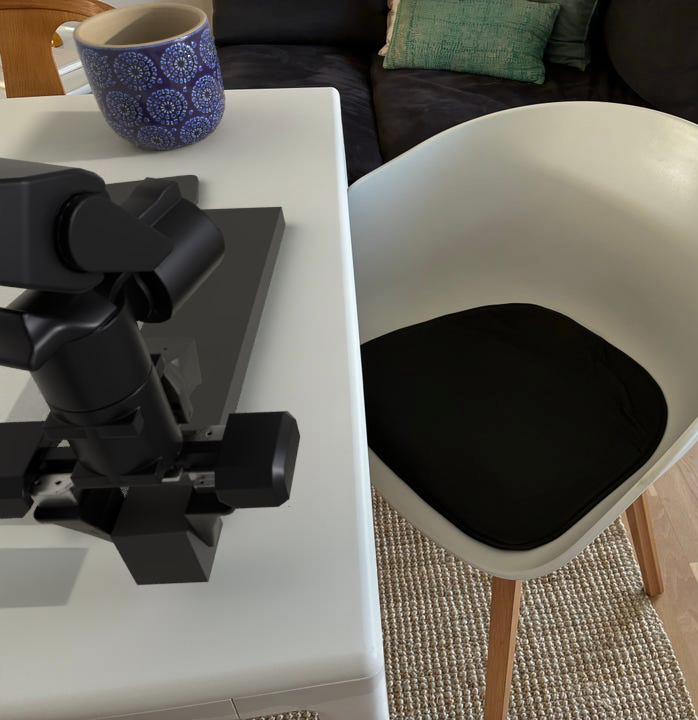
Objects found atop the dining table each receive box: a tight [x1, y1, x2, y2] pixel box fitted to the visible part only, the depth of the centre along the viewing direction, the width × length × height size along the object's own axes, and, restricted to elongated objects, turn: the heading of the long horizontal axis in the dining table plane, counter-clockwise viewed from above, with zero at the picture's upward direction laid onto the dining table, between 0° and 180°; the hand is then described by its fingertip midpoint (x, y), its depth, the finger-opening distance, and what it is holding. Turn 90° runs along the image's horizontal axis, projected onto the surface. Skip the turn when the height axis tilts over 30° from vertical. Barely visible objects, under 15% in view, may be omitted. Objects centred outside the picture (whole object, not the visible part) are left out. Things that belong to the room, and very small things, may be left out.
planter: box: [72, 2, 226, 151], centre depth 103 cm, size 17×17×15 cm
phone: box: [105, 174, 200, 206], centre depth 94 cm, size 7×1×15 cm
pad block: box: [110, 475, 224, 586], centre depth 52 cm, size 5×5×6 cm
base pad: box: [139, 206, 287, 476], centre depth 74 cm, size 42×10×2 cm, turn 2°
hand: (176, 542), depth 53 cm, fingers closed on pad block, 5 cm apart
